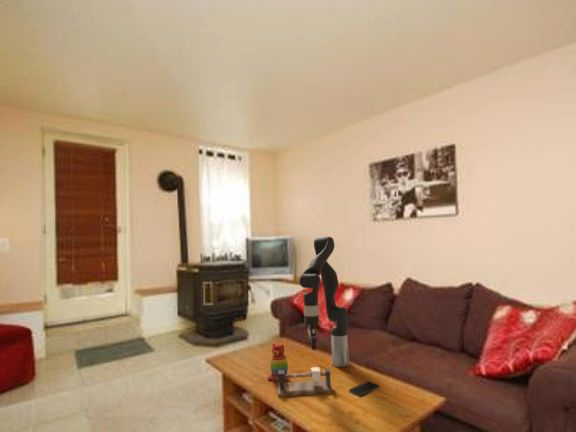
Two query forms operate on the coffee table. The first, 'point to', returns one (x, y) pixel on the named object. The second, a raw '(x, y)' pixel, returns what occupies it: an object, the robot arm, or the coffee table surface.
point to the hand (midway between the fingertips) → (312, 346)
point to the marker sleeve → (315, 374)
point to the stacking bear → (278, 362)
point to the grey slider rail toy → (303, 385)
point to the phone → (364, 388)
